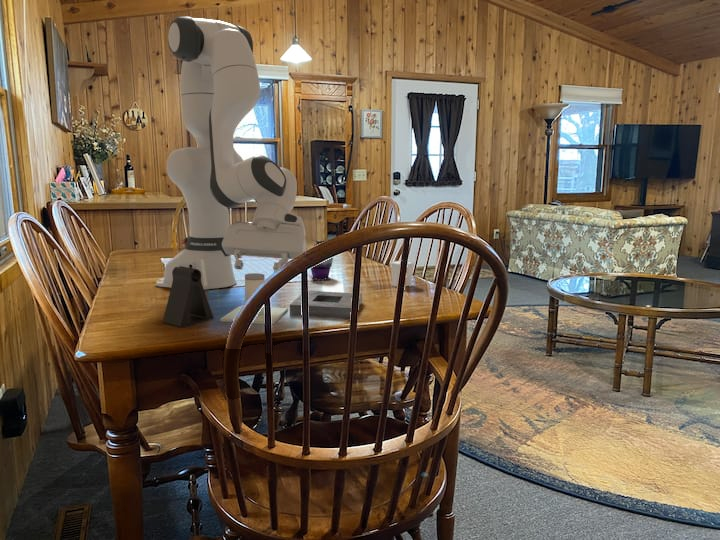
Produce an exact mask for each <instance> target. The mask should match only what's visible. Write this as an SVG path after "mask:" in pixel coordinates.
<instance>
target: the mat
mask: <svg viewBox="0 0 720 540" xmlns="http://www.w3.org/2000/svg"><path fill="white" fill-rule="evenodd" d="M242 306H243V305H239V306H237V307H236V308H234V309H233V310H231V311H230V312H228V313H227V314H225V315H224V316H222V317H221V318H220V320H219V321H220V322H223V323H225V322H226V323H233V322H232V321H233V319H234V318H235V316H236V314H237V313H238V311H239V310H240V309H241V307H242ZM271 308H272V325H274V324H275V323H276V322H277V321H279V320H280V318H282V317H283V316H284V315H285V314H286V313H287V312H288V311H289V308H288V307H287V308H286V307H284V308H283V307H271ZM252 324H254V325H255V324H257V325H265V324H264V314H263V315H258V316H257V317H256V319H255V320H254V322H253V323H252ZM272 325H271V326H272Z"/></svg>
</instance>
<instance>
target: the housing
mask: <svg viewBox="0 0 720 540" xmlns="http://www.w3.org/2000/svg"><path fill="white" fill-rule="evenodd" d="M308 291H309V316H308V317H316V318H317V317H322V318H334V319H335V318H336V319H350V312H351V298H352V293H353V292H340V291H339V292H338V291H322V290H321V291H320V290H308ZM362 304H363V293H360V298H359V308H360V307H361V306H362ZM360 305H361V306H360ZM289 316H301V294H300V295H298V296H297V298H296V299H295V298H294V300H293V301H292V302H291V303H289Z"/></svg>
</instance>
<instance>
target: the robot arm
mask: <svg viewBox="0 0 720 540" xmlns="http://www.w3.org/2000/svg"><path fill="white" fill-rule="evenodd" d="M167 40H168V41H167V42H168V48H169V49H170V51H171V54H172V55H173V56H174V57H175V58H177V59H179V60H181V62H182V63H181V67H180V81H179V83H180V87H179V88H180V99H181V111H182V123H183V126H184V128H185V130H187V131H188V132H189V133H190V135H192V137H193V138H194V140H195V142H196V145H197V146H187V147H181V148H178V149H174V150H173V151H171V152H170V153H169V155H168V156H167V159H166V163H165V164H166V165H165V166H166V167H165V170H166V174H167V175H168V178H169V179H170V181H171V182H172V183H174V185H175V186H177V188H178V189H179V190H180V191H181V194H182V196H183V198H184V200H185V204H186V207H187V213H188V214H187V215H188V223H189V224H188V225H189V236H186V237H185V238H184V239H181V241H182V242H181V245H183V244H184V249H182V250H181V251H180V252H179V253H177V254H175V256H174V257H173V258H171V259H170V260H169V261H168V262H166V264H165V267H164V270H163V271H164V272H163V277H161V278H159V279H157V280H156V282H155V286H156V287H161V288H169V289H171V286H172V282H173V275H172V271H173V269H174V268H175V267H179V266H182V267H187V268H193V269H198V270H200V272H201V282H202V286H203V289H204V291H205V290H210V289H220V288H228V287H232V286H234V285H236V284H237V279H236V277H235V272H234V269H233V263H232V256H233V257H234V259H235V261H234V268H235V270H241V271H242V270H243V267H244V265H245V264H244V262H243V260H242V257H255V258H256V257H257V258H269V259H280V260H279V261H278V262H274V263H273V267H272V269H273V272H274V273H277V272H276V271H277V270H278V269H279V268H281V267H282V266H283V265H284V264H285V265H287V263H288V262H289V260H294V259H293V258H295V257H296V256H298V255H299V254H301V253H303V252H304V251H306V250H307V240H306V234H307V233H306V227H305V223H304V221H303V219H302V217H301V216H299V215H295V214H292V213H291V212H292V210H293V209H294V207H295V203H296V199H297V194H298V180H297V178H296V176H295V174H294V173H293V172H292V171H290V169H289V168H285V167H280V166H279V165H278V164H277V163H276V162H274V161H273V160H272V159H271V158H269V157H268V156H265V155H263V154H262V155H261V154H257V155H255V156H251V157H249V158H246V159H244V160H243V157H242V156H241V155H240V154H239V153H238V152H237V151H236V150H235V148H234V134H235V131H236V129H237V128H238V126H239V124H240V123H241V122H242V120H243V119H244V118H245V117H246V116H247V115H248V114H249V113H250V112H251V111H252V110H253V109H254V107H255V106H256V105H257V103H258V101H259V99H260V96H261V95H260V93H261V82H260V77H259V73H258V69H257V64H256V61H255V57H254V41H253V37H252V34H251V33H250V31H249V30H248V29H246V28H244V27H243V26H240V25H238V24H232V23H228V22H225V21H221V20H218V19H217V20H216V19H207V18H198V17H197V18H196V17H191V16H178V17H174V19H173V20H172V21H171V22H170V23H169V27H168V31H167ZM253 200H255V201H256V202H257V207H256V209H255V212H254V214H253V218H252V221H237V220H236V221H235V222H233V223H230V210H229V209H235V208H238V207H239V206H241V205H243V204H245V203H247V202H250V201H253ZM285 265H284V266H285ZM284 266H283V267H284ZM283 267H282V268H283Z"/></svg>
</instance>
